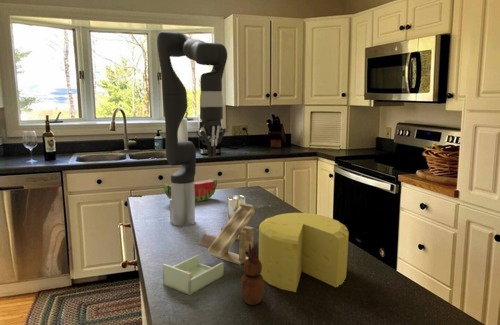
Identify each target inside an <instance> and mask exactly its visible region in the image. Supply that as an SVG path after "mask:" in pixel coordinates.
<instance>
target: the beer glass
mask: <svg viewBox="0 0 500 325" xmlns="http://www.w3.org/2000/svg"><path fill="white" fill-rule="evenodd" d="M240 203H245V204H247V202H246V197H245V196H244V195H240V194H239V195H238V194H237V195H235V194H234V195H229V196H227V200H226V214H227V220H228V221H229V220H230V219H231V218H232V216H233V215H234V214H235V212H236V211H237V210H238V208H239V207H240ZM228 221H227V222H228ZM242 231H243V229H242ZM237 240H238V241H239V235H238V236H237V238H236V239H235V241H237Z"/></svg>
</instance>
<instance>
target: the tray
mask: <svg viewBox="0 0 500 325" xmlns="http://www.w3.org/2000/svg"><path fill="white" fill-rule="evenodd" d="M200 260H201V259H200V254H196V255H193V256H192V257H190V258H188V259H185V260H183V261H181V262H178V263H177V264H175V265H173V266H172V265H169V264H166V263H163V264H162V282H163V283H162V285H164V286H166V287H168V288H171V289H172V290H175V291H178V292H181V293H183V294H185V295H187V294H188V296H191V295H192V294H194V292H195V293H196V292H198V291H200V290H202V289H203V288H205V287H206V285H207V286H208V285H210V284H211V282H212V283H213V282H215V281H217V280H218V278H219V279H220V278H222V277H224V271H225V270H224V262H220V263H218V264H215V265H213V266H209V265H207V264H205V263H202V262H201V261H200ZM200 262H201V263H200ZM186 271H189V272H191V273H192V276H193V278H192V279H191V273H189V272H186ZM199 289H200V290H199Z"/></svg>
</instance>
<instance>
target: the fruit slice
mask: <svg viewBox="0 0 500 325" xmlns="http://www.w3.org/2000/svg"><path fill="white" fill-rule="evenodd" d="M217 185H218V179H216V178H214V177H210V178H209V179H206V180H200V181H194V195H195V204H196V203H198V202H203V201H206V200H208V199H211V198H212V197H213V196H214V194H215V192H216V189H217ZM163 191H164V193H165V196H167V198H168V199H169V200H170V199H171V184H168V183H163Z"/></svg>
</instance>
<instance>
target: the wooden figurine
mask: <svg viewBox="0 0 500 325" xmlns="http://www.w3.org/2000/svg"><path fill="white" fill-rule="evenodd" d="M247 257H248V259H247V260H246V261H245V262H244V263H243V271H244V273H243V275H242V276H241V281H240V282H241V284H240V285H241V286H240V290H241V295H242V299H243V300H242V301H244V303H246V304H247V305H251V306H255V305H258V304H259V303H261V301H262V300H263V296H264V293H265V280H263V277H262V275H261V274H260V273H261V271H262V264H261V262H260V260H259V258H257V257H258V256H256V252H255V251H254V246H253V247H252V250H251V245H250V243H249V252H248V256H247Z"/></svg>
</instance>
